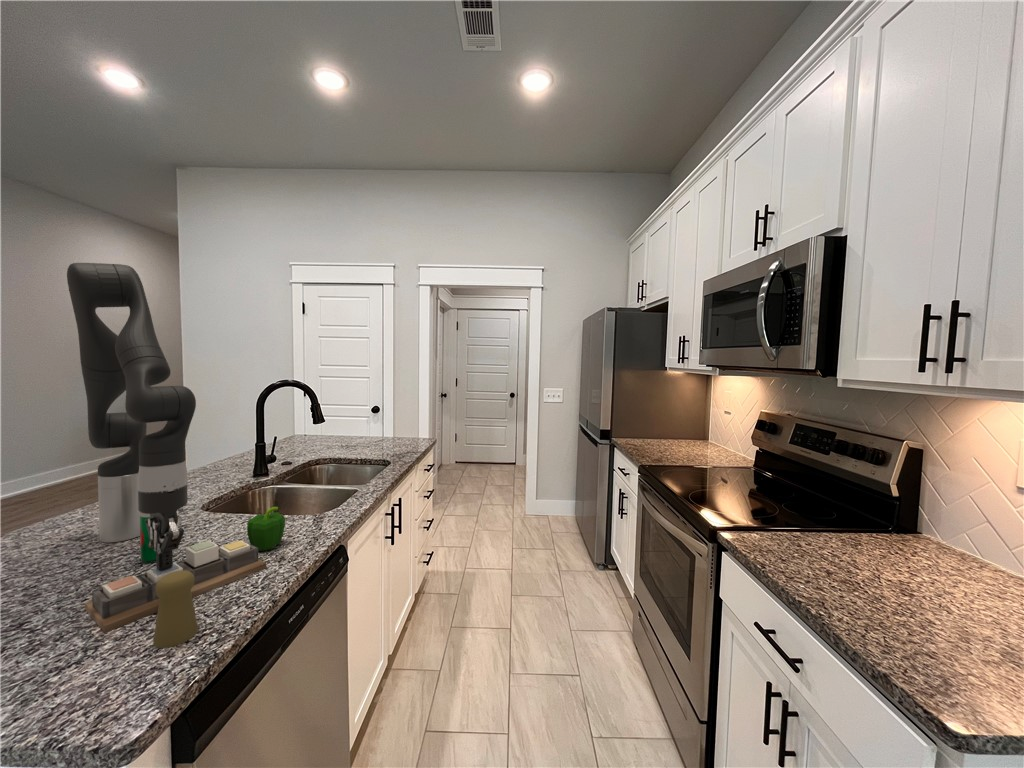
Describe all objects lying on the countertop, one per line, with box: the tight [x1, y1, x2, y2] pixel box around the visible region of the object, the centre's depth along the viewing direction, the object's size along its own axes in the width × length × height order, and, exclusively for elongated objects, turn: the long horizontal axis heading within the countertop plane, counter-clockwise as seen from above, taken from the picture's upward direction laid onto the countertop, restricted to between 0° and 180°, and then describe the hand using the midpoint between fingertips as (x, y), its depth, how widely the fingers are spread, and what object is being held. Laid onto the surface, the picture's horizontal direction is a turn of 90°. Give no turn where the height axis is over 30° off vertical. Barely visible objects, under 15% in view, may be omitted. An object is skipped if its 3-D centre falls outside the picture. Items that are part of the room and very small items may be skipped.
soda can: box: [139, 513, 157, 564], centre depth 95 cm, size 5×5×12 cm
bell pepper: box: [246, 506, 286, 552], centre depth 103 cm, size 8×8×10 cm
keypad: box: [84, 540, 267, 633], centre depth 84 cm, size 12×27×4 cm, turn 148°
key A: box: [185, 540, 220, 567], centre depth 87 cm, size 4×4×3 cm
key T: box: [146, 561, 183, 583], centre depth 82 cm, size 4×4×3 cm
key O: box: [102, 575, 142, 599], centre depth 76 cm, size 4×4×3 cm
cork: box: [152, 570, 199, 649], centre depth 69 cm, size 6×6×11 cm
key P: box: [219, 540, 250, 557], centre depth 92 cm, size 4×4×3 cm
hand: (164, 568), depth 81 cm, fingers closed
